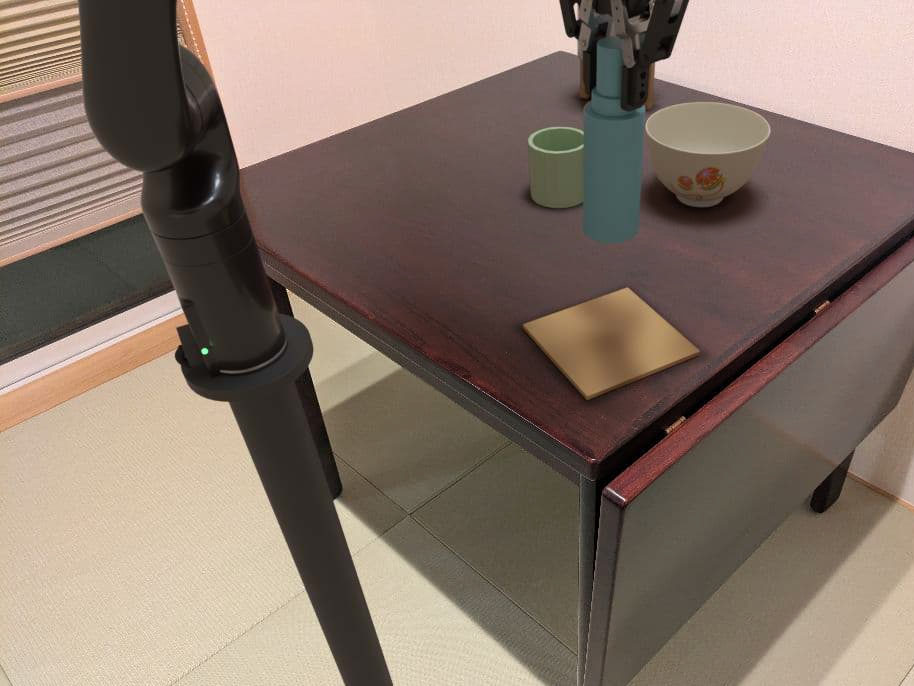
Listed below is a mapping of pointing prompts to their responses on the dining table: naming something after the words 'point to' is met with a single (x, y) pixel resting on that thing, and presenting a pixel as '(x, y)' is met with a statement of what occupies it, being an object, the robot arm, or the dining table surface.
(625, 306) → the cork mat
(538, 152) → the holder
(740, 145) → the bowl
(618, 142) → the bottle
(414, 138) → the dining table surface
